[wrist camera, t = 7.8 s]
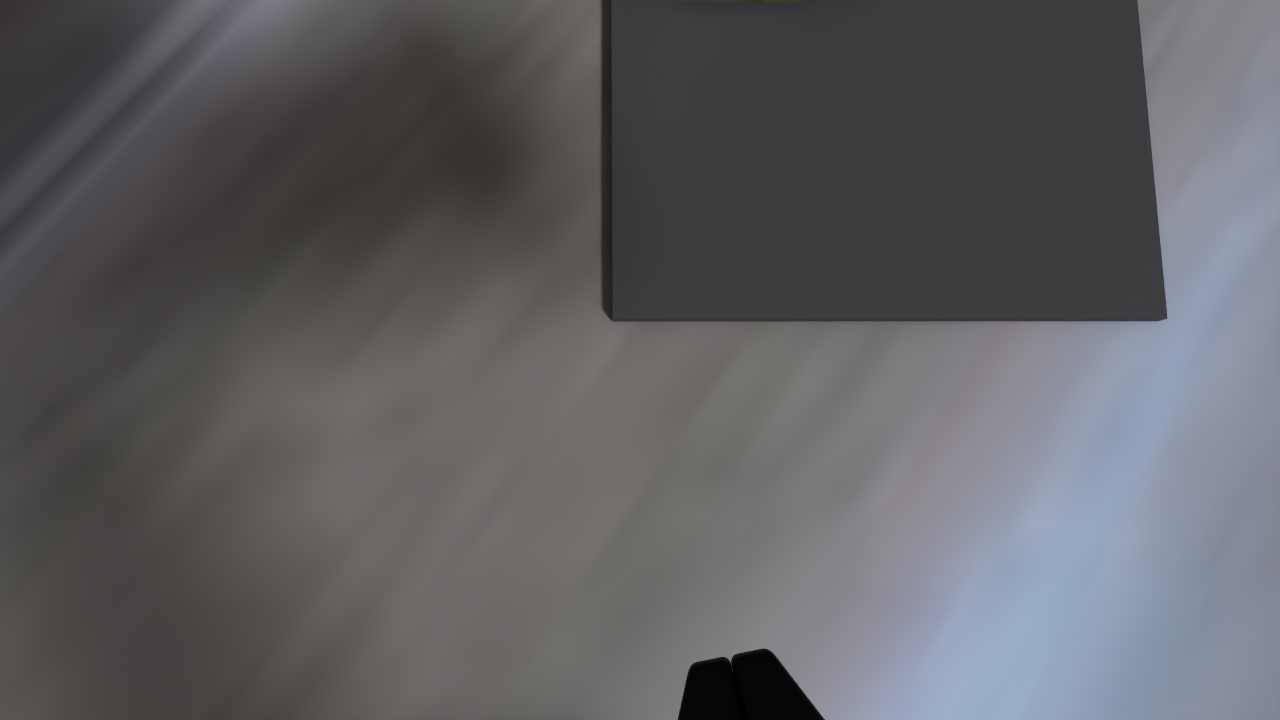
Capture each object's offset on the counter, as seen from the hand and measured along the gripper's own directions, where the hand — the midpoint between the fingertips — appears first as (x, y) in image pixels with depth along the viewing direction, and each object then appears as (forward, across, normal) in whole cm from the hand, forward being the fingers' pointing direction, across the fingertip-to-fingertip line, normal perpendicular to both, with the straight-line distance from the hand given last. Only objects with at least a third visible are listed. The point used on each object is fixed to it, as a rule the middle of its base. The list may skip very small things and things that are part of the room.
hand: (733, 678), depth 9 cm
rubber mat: (+22, -9, -4) cm, 24 cm away
